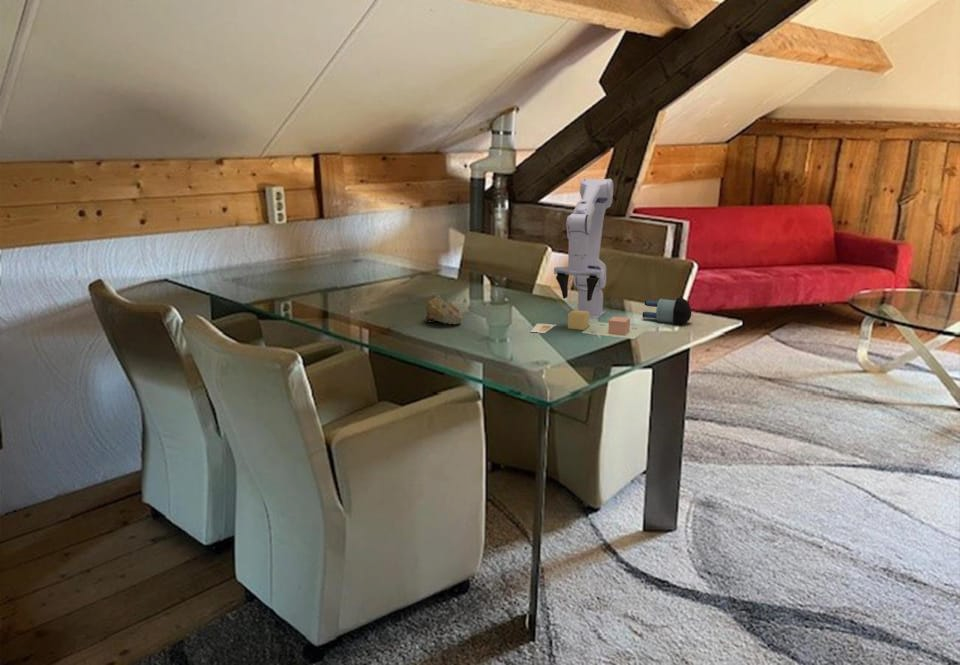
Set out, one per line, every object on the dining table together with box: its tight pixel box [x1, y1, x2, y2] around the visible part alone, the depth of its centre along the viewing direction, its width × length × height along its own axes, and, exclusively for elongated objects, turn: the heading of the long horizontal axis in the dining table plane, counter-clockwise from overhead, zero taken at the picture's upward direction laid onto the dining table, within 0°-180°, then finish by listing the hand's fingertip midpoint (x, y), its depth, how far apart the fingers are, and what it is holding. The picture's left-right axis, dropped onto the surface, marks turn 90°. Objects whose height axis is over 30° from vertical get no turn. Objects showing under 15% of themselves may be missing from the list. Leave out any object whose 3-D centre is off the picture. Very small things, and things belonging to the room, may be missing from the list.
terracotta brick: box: [608, 316, 631, 335], centre depth 218 cm, size 5×5×4 cm
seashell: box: [425, 293, 463, 325], centre depth 232 cm, size 11×14×10 cm
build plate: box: [581, 321, 648, 340], centre depth 221 cm, size 14×16×1 cm
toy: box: [642, 297, 692, 326], centre depth 229 cm, size 8×9×15 cm
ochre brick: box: [567, 309, 590, 331], centre depth 224 cm, size 5×5×5 cm
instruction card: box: [529, 323, 557, 334], centre depth 225 cm, size 10×7×1 cm
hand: (577, 299), depth 222 cm, fingers open, 7 cm apart
